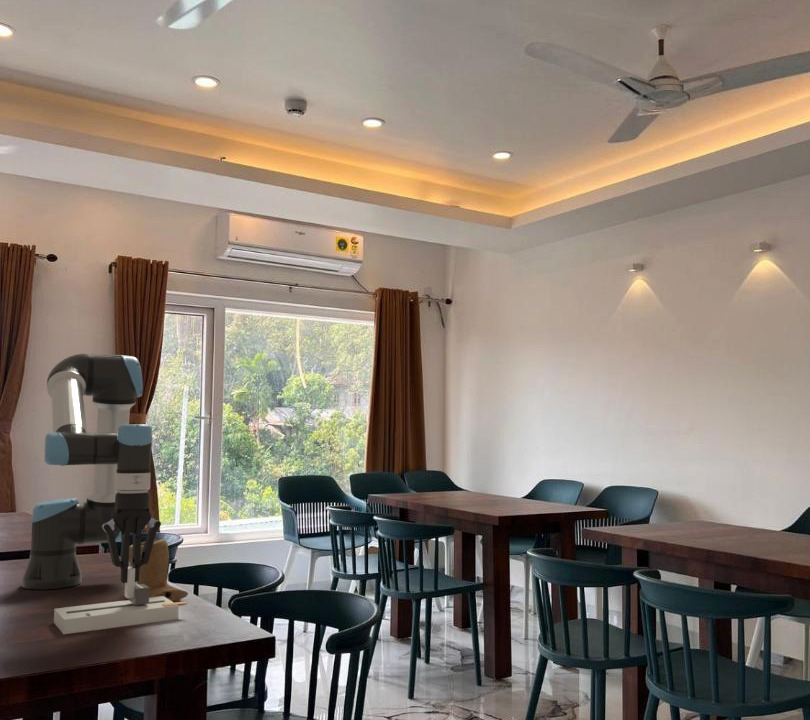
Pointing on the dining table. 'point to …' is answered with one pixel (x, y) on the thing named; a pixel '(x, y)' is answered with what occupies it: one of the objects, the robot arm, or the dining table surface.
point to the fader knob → (140, 594)
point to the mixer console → (114, 614)
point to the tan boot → (157, 572)
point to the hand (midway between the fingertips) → (129, 596)
